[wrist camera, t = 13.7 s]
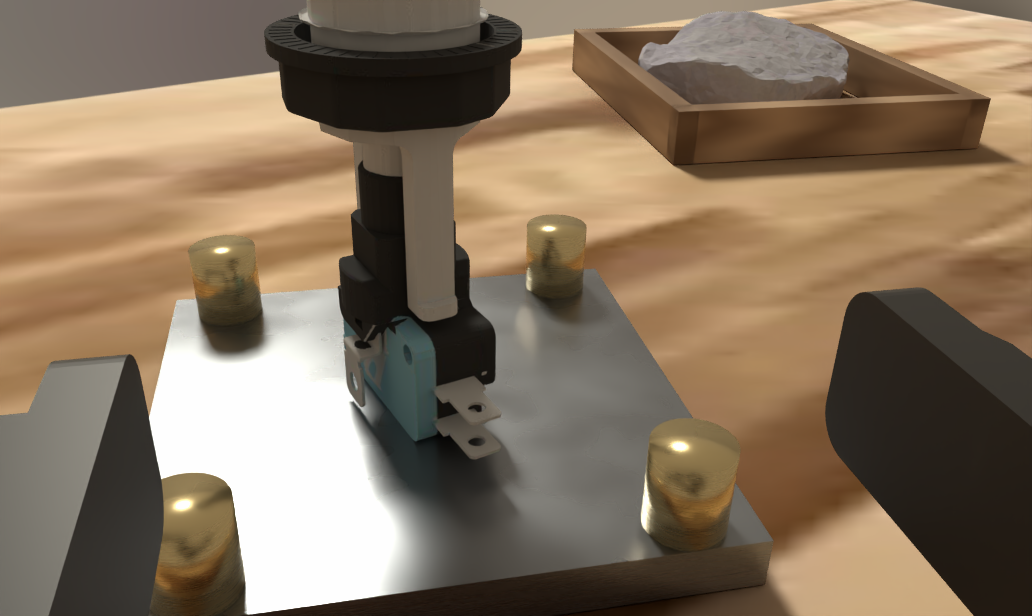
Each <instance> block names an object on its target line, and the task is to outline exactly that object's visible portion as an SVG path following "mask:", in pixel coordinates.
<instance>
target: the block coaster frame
mask: <svg viewBox="0 0 1032 616" xmlns="http://www.w3.org/2000/svg"><path fill="white" fill-rule="evenodd" d="M795 25H797V26H799V27H803V28H807V29H810V30H813V31H815V32H820V33H823V34H826V35H827V36H829V37H830V38H831V39H833V40H834V41H836V42H838V43H839V44H840V45H842V46H843V47H844V48H845V49H846V50H847V52H848V54H849V59H850V60H849V65H848V71H847V79H846V83H845V85H844V89H843V90H845V91H847V92H849V93H851V94H853V95H855V96H857V97H859V98H844V99H819V100H795V101H771V102H746V103H722V104H698V105H691V104H690V103H688V102H687V101H686V100H684V99H683V98H682V97H680V96H679V95H678V94H676V93H675V92H674V91H672V90H671V89H670V88H668V87H667V86H666V85H664V84H663V83H662V82H660V81H659V80H658V79H656V78H655V77H654V76H652V75H651V74H650V73H648V72H647V71H646V70H644V69H643V68H642V67H640V66H639V65H638V59H639V56H640V54H641V51H642V48H643V47H644V46H645V45H646V44H648V43H650V42H652V43H655V44H659V45H663V44H668V43H669V42H671V41H672V40H673V39H674V37H675V36H676V35H677V33H678V32H679V31H680V30H681V29H682V28H683V27H650V28H608V29H575V30H574V47H573V67H572V70H573V71H574V72H575V73H576V74H577V75H578V76H579V77H581V78H582V79H583V80H584V81H585V82H586V83H587V84H588V85H589V86H590V87H591V88H592V89H593V90H594V91H595V92H596V93H598V94H599V95H600V96H601V97H602V98H603V99H604V100H605V101H606V102H607V103H608V104H609V105H610V106H611V107H612V108H614V109H615V110H616V111H617V112H618V113H619V114H620V115H621V116H622V117H623V118H624V119H625V120H626V121H627V122H628V123H629V124H631V125H632V126H633V127H634V128H635V129H636V130H637V131H638V132H639V133H640V134H641V135H642V136H643V137H644V138H645V139H647V140H648V141H649V142H650V143H651V144H652V145H653V146H654V147H655V148H656V149H657V150H658V151H659V152H660V153H661V154H662V155H664V156H665V157H666V158H667V159H668V160H669V161H670V162H671V163H672V164H673V165H676V164H695V163H713V162H732V161H750V160H769V159H787V158H806V157H824V156H843V155H861V154H880V153H898V152H917V151H935V150H954V149H972V148H978V145H979V141H980V137H981V134H982V130H983V126H984V122H985V119H986V115H987V111H988V107H989V104H990V100H991V98H988V97H986V96H984V95H981V94H979V93H976V92H974V91H972V90H969V89H967V88H965V87H962V86H960V85H957V84H955V83H953V82H950V81H948V80H945V79H943V78H941V77H938V76H936V75H933V74H931V73H929V72H926V71H924V70H921V69H919V68H917V67H914V66H912V65H909V64H907V63H905V62H902V61H900V60H897V59H895V58H893V57H890V56H888V55H885V54H883V53H881V52H878V51H876V50H873V49H871V48H869V47H866V46H864V45H861V44H859V43H857V42H854V41H852V40H849V39H847V38H845V37H842V36H840V35H838V34H835V33H833V32H830V31H828V30H826V29H823V28H821V27H818V26H816V25H814V24H795Z"/></svg>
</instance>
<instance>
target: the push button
mask: <svg viewBox="0 0 1032 616" xmlns="http://www.w3.org/2000/svg"><path fill="white" fill-rule="evenodd" d="M264 35H265V44H266V51H267V54H268V55H269V56H270V57H272V58H273V59H275V60H277V61H279V70H280V80H281V90H282V98H283V100H284V103H285V106H286V108H287V110H288V111H289V112H291V113H293V114H296V115H299V116H302V117H305V118H308V119H311V120H314V121H317V122H319V124H320V129H321V131H323V132H325V133H328V134H330V135H333V136H336V137H338V138H341V139H344V140H346V141H349V142H353V148H354V163H355V178H356V193H357V210H355V211H354V212H353V213H352V214H351V224H352V238H353V253H354V255H351V256H346V257H342V258H340V260H339V270H340V284H341V285H340V286H338V293H339V305H340V310H341V314H342V316H343V322H344V334H343V337H344V340H343V343H344V347H345V350H344V356H345V369H346V381H347V386H348V389H349V392H350V394H351V395H352V396H353V398H354V399H355V400H356V402H357V403H358V405H359V406H360V407H364V406H365V405H366V401H365V386H364V379H365V380H366V381H367V382H368V384H369V385H370V386H371V387H372V389H373V390H374V391H375V393H376V394H377V395H378V396H379V398H380V399H381V400H382V401H383V403H384V404H385V405H386V406H387V408H388V409H389V410H390V412H391V413H392V414H393V415H394V417H395V418H396V419H397V420H398V422H399V423H400V424H401V425H402V427H403V428H404V429H405V431H406V432H407V433H408V434H409V436H410V437H411V438H412V439H413V440H414V441H415V442H416V441H419V440H422V439H425V438H428V437H432V436H435V435H438V434H442V435H443V437H444V436H447V435H450V436H451V437H452V438H453V439H454V441H455V442H456V443H457V444H458V445H459V446H460V448H461V449H462V450H463V451H464V452H465V453H466V455H467V456H468V457H469V458H470V459H478V458H481V457H484V456H487V455H490V454H493V453H496V452H499V451H500V449H501V445H500V444H499V443H498V442H497V441H496V440H495V438H494V437H493V436H492V435H491V434H490V433H489V432H488V431H487V430H486V429H485V428H484V426H483V425H482V424H486V422H488V421H491V420H494V419H497V418H500V417H501V415H502V412H501V411H500V410H499V409H498V408H497V407H496V406H495V405H494V404H493V402H492V401H491V400H490V399H489V398H488V397H487V396H486V395H485V394H484V393H483V391H486V388H485V387H484V385H488V384H491V383H493V382H494V381H495V377H496V334H495V330H494V327H493V325H492V324H491V322H490V321H489V320H488V319H487V318H485V317H484V316H483V315H482V314H481V313H480V312H479V311H478V310H476V309H475V308H474V307H473V305H472V302H471V300H470V261H469V257H468V254H467V253H466V251H465V250H464V249H463V248H462V247H461V246H460V245H458V244H456V226H455V221H454V207H453V150H454V146H455V144H456V142H457V141H458V140H459V138H460V137H462V136H463V135H465V134H466V133H467V132H468V131H470V130H471V129H472V128H473V127H475V126H476V125H477V124H478V123H479V122H480V120H483V119H487V118H490V117H491V116H493V115H494V114H495V113H496V111H497V110H498V109H499V108H500V107H501V105H502V104H503V103H504V102H505V100H506V99H507V98H508V97H509V95H510V65H511V59H512V58H514V57H516V56H517V55H518V54H519V53H520V51H521V48H522V30H521V28H520V27H519V26H518V25H517V24H516V23H514V22H512V21H510V20H507V19H505V18H502V17H498V16H495V15H491V14H488V12H487V11H486V9H485V8H482V7H480V0H307V7H306V8H304V9H303V10H301V11H299V12H298V15H294V16H291V17H287V18H284V19H281V20H279V21H276V22H274V23H272V24H271V25H269V26H268V27H267V28H266V29H265V32H264ZM353 374H354V375H355V378H356V381H357V388H356V386H355V384H354V380H353ZM482 406H484V407H485V408H486V409H485V410H484V411H482ZM473 438H480V439H483V440H484V441H485V444H483V445H481V446H472V445H470V444H469V443H468V441H469V440H471V439H473Z"/></svg>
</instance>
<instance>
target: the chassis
mask: <svg viewBox="0 0 1032 616" xmlns="http://www.w3.org/2000/svg"><path fill="white" fill-rule="evenodd" d="M585 243H586V224H585V223H584V222H583V221H581V220H579V219H577V218H574V217H571V216H566V215H543V216H539V217H536V218H533V219H531V220H530V221H529V222H528V224H527V252H526V274H519V275H506V276H493V277H480V278H470V300H471V302H472V305H473V307H474V308H475V309H476V310H478V311H479V312H480V313H481V314H482V315H483V316H484V317H485V318H487V319H488V320H489V321H490V322H491V324H492V325H493V327H494V330H495V334H496V377H495V381H494V382H493V383H491V384H488V385H484V387H485V388H486V391H483V393H484V394H485V395H486V396H487V397H488V398H489V399H490V400H491V401H492V402H493V404H494V405H495V406H496V407H497V408H498V409H499V410H500V411H501V412H502V415H501V417H500V418H497V419H494V420H491V421H488V422H486V424H482V425H483V426H484V428H485V429H486V430H487V431H488V432H489V433H490V434H491V435H492V436H493V437H494V438H495V440H496V441H497V442H498V443H499V444H500V445H501V449H500V451H499V452H496V453H493V454H490V455H487V456H484V457H481V458H478V459H470V458H469V457H468V456H467V455H466V453H465V452H464V451H463V450H462V449H461V448H460V446H459V445H458V444H457V443H456V442H455V441H454V439H453V438H452V437H451V436H450V435H447V436H444V437H443V435H442V434H438V435H435V436H432V437H428V438H425V439H422V440H419V441H416V442H415V441H414V440H413V439H412V438H411V437H410V436H409V434H408V433H407V432H406V431H405V429H404V428H403V427H402V425H401V424H400V423H399V422H398V420H397V419H396V418H395V417H394V415H393V414H392V413H391V412H390V410H389V409H388V408H387V406H386V405H385V404H384V403H383V401H382V400H381V399H380V398H379V396H378V395H377V394H376V393H375V391H374V390H373V389H372V387H371V386H370V385H369V384H368V382H367V381H366V380H365V379H364V386H365V401H366V405H365V406H364V407H360V406H359V405H358V403H357V402H356V400H355V399H354V398H353V396H352V395H351V394H350V392H349V389H348V386H347V381H346V369H345V356H344V350H345V347H344V343H343V340H344V337H343V334H344V322H343V316H342V314H341V310H340V305H339V293H338V288H334V289H321V290H308V291H294V292H281V293H268V294H261V293H260V285H259V277H258V269H257V261H256V253H255V245H254V242H253V241H252V240H250V239H248V238H246V237H242V236H235V235H223V236H215V237H210V238H206V239H203V240H200V241H198V242H196V243H194V244H193V245H192V246H191V247H190V248H189V258H190V264H191V271H192V277H193V283H194V289H195V295H196V299H189V300H177V302H176V306H175V310H174V315H173V319H172V323H171V327H170V332H169V336H168V340H167V344H166V349H165V353H164V357H163V362H162V366H161V370H160V374H159V379H158V383H157V387H156V391H155V396H154V400H153V404H152V408H151V413H150V417H149V420H150V425H151V430H152V435H153V440H154V445H155V450H156V455H157V460H158V465H159V470H160V475H161V481H162V489H163V501H164V526H163V536H162V543H161V548H160V554H159V560H158V566H157V571H156V577H155V583H154V588H153V594H152V600H151V605H150V611H149V616H555V615H562V614H568V613H575V612H582V611H589V610H595V609H602V608H609V607H615V606H622V605H629V604H635V603H642V602H649V601H656V600H662V599H669V598H676V597H682V596H689V595H696V594H702V593H709V592H716V591H723V590H729V589H736V588H743V587H749V586H756V585H763V584H765V581H766V576H767V571H768V566H769V561H770V556H771V551H772V546H773V539H772V538H771V536H770V535H769V533H768V532H767V530H766V529H765V527H764V526H763V524H762V523H761V521H760V520H759V518H758V517H757V515H756V513H755V512H754V510H753V509H752V507H751V506H750V504H749V503H748V501H747V500H746V498H745V497H744V495H743V494H742V492H741V491H740V489H739V488H738V486H737V484H736V483H735V481H736V475H737V469H738V463H739V457H740V446H739V443H738V441H737V439H736V438H735V437H734V436H733V435H732V434H731V433H730V432H729V431H727V430H726V429H724V428H723V427H721V426H719V425H717V424H714V423H711V422H708V421H705V420H700V419H693V417H692V416H691V414H690V413H689V411H688V410H687V408H686V407H685V405H684V404H683V402H682V401H681V399H680V397H679V396H678V394H677V393H676V391H675V390H674V388H673V387H672V385H671V384H670V382H669V381H668V379H667V378H666V376H665V375H664V373H663V372H662V370H661V368H660V367H659V365H658V364H657V362H656V361H655V359H654V358H653V356H652V355H651V353H650V352H649V350H648V349H647V347H646V346H645V344H644V343H643V341H642V340H641V338H640V336H639V335H638V333H637V332H636V330H635V329H634V327H633V326H632V324H631V323H630V321H629V320H628V318H627V317H626V315H625V314H624V312H623V311H622V309H621V307H620V306H619V304H618V303H617V301H616V300H615V298H614V297H613V295H612V294H611V292H610V291H609V289H608V288H607V286H606V285H605V283H604V282H603V280H602V278H601V277H600V275H599V274H598V272H597V271H596V269H585V270H584V260H585ZM353 380H354V384H355V386H356V388H357V381H356V378H355V375H354V374H353ZM485 409H486V408H485V407H484V406H482V411H484V410H485ZM468 443H469V444H470V445H472V446H481V445H483V444H485V441H484V440H483V439H480V438H473V439H471V440H469V441H468Z"/></svg>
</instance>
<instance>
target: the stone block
mask: <svg viewBox="0 0 1032 616" xmlns="http://www.w3.org/2000/svg"><path fill="white" fill-rule="evenodd" d="M849 60H850V59H849V54H848V52H847V50H846V49H845V48H844V47H843V46H842V45H840V44H839V43H838V42H836V41H834V40H833V39H831V38H830V37H829V36H827V35H826V34H823V33H820V32H815V31H813V30H810V29H807V28H803V27H799V26H797V25H795V24H793V23H791V22H789V21H787V20H785V19H777V18H772V17H766V16H763V15H761V14H758V13H754V12H747V11H743V12H722V11H721V12H715V13H709V14H704V15H702V16H700V17H698V18H696V19H694V20H692V21H691V22H690V23H689V24H686V26H684V27H683V28H682V29H681V30H680V31H679V32H678V33H677V35H676V36H675V37H674V39H673V40H672V41H671V42H669V43H668V44H663V45H659V44H655V43H652V42H650V43H648V44H646V45H645V46H644V47H643V48H642V51H641V54H640V56H639V59H638V65H639V66H640V67H642V68H643V69H644V70H646V71H647V72H648V73H650V74H651V75H652V76H654V77H655V78H656V79H658V80H659V81H660V82H662V83H663V84H664V85H666V86H667V87H668V88H670V89H671V90H672V91H674V92H675V93H676V94H678V95H679V96H680V97H682V98H683V99H684V100H686V101H687V102H688V103H690V104H691V105H698V104H722V103H746V102H771V101H795V100H819V99H840V97H841V95H842V92H843V89H844V85H845V83H846V79H847V71H848V65H849Z"/></svg>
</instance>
